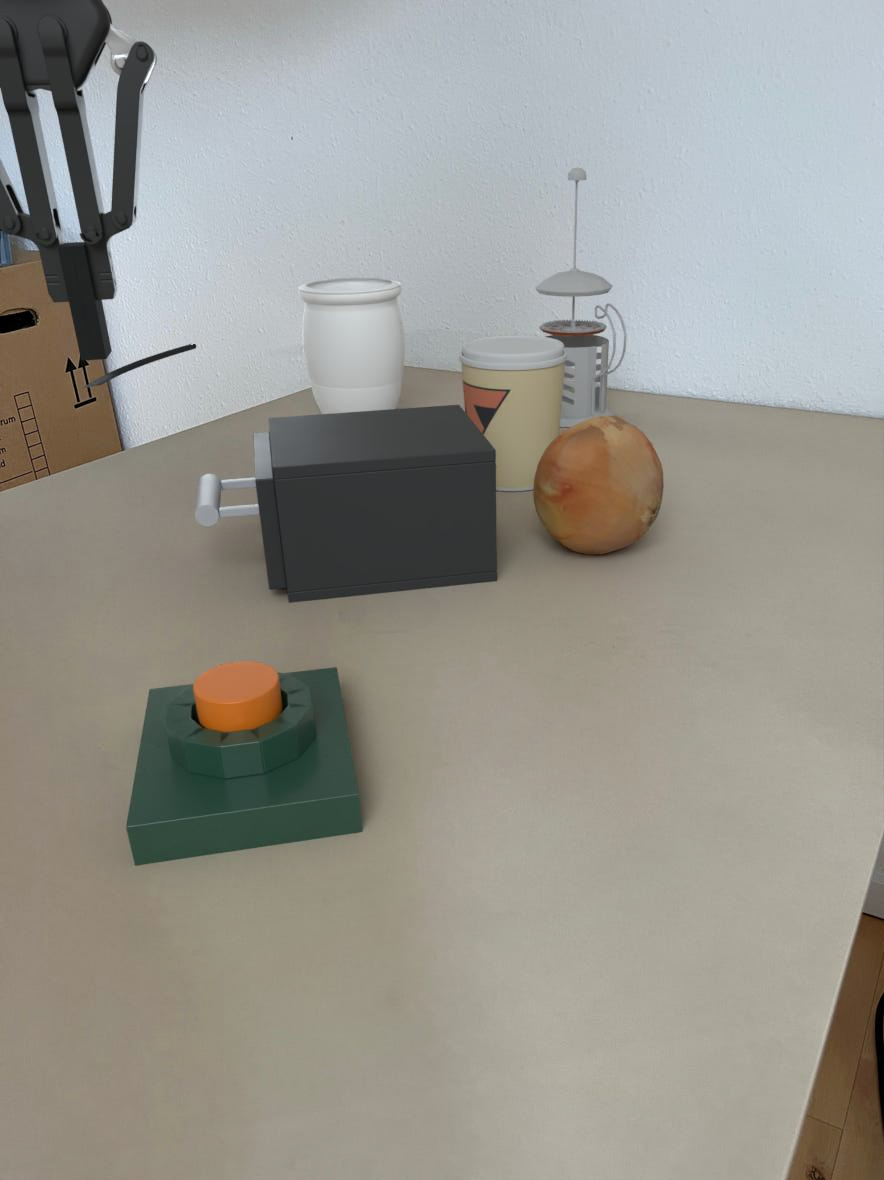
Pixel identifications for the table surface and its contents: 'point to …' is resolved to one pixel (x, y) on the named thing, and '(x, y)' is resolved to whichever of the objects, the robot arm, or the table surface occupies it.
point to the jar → (353, 343)
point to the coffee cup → (514, 400)
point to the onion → (598, 485)
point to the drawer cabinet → (384, 501)
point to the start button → (237, 696)
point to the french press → (581, 338)
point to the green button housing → (243, 775)
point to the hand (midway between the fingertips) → (96, 355)
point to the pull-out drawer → (249, 506)
